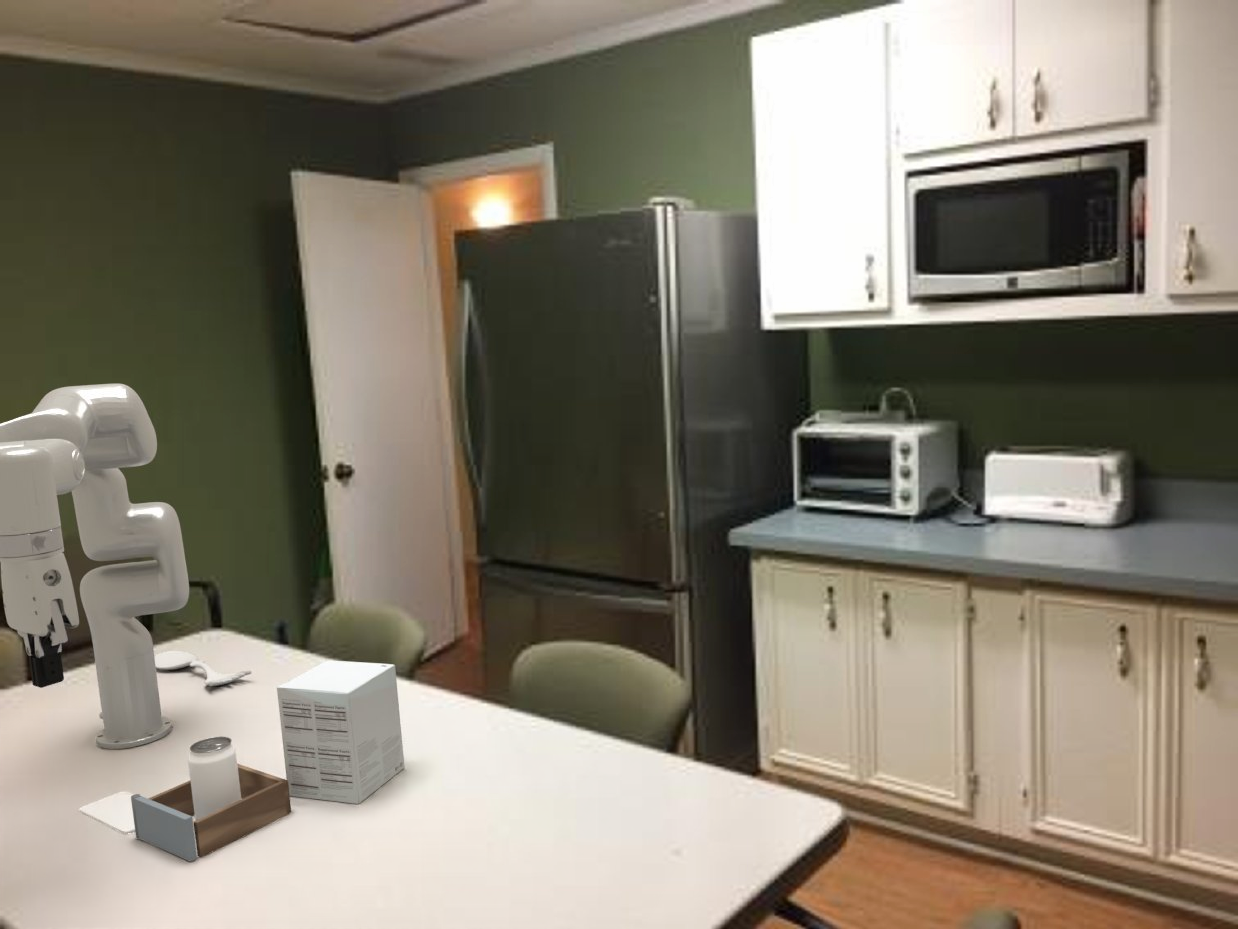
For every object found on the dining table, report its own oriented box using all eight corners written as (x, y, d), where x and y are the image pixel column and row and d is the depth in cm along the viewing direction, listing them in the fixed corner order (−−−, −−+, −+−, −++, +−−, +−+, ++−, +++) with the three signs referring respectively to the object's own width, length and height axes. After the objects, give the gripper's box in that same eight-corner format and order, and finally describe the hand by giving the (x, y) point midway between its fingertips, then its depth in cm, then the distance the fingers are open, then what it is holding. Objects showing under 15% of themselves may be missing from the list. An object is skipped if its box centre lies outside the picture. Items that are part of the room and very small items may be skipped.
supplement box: (336, 760, 169) (326, 658, 167) (406, 768, 165) (396, 663, 163) (285, 796, 157) (274, 687, 155) (359, 805, 153) (348, 692, 150)
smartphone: (123, 790, 162) (174, 812, 153) (124, 794, 162) (174, 817, 153) (76, 809, 156) (125, 833, 147) (77, 813, 156) (126, 837, 147)
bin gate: (134, 837, 146) (129, 796, 145) (142, 834, 147) (137, 793, 146) (189, 862, 138) (184, 819, 137) (197, 858, 139) (192, 815, 138)
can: (227, 834, 146) (218, 754, 144) (186, 832, 147) (177, 753, 146) (252, 812, 152) (243, 735, 151) (212, 811, 153) (203, 734, 152)
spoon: (212, 697, 204) (210, 681, 204) (143, 668, 226) (141, 653, 225) (254, 684, 211) (252, 668, 211) (183, 657, 232) (181, 642, 232)
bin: (146, 834, 147) (141, 801, 147) (236, 792, 159) (232, 762, 159) (200, 857, 140) (196, 823, 139) (291, 812, 151) (288, 780, 151)
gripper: (89, 542, 128) (107, 683, 131) (31, 534, 137) (49, 666, 139) (26, 555, 122) (47, 703, 125) (-30, 545, 131) (-10, 684, 133)
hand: (48, 683), depth 132 cm, fingers closed
